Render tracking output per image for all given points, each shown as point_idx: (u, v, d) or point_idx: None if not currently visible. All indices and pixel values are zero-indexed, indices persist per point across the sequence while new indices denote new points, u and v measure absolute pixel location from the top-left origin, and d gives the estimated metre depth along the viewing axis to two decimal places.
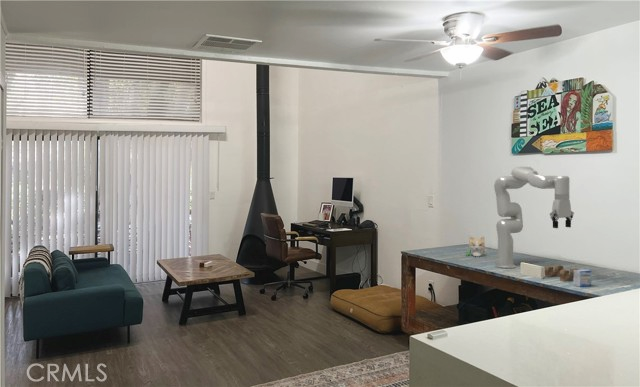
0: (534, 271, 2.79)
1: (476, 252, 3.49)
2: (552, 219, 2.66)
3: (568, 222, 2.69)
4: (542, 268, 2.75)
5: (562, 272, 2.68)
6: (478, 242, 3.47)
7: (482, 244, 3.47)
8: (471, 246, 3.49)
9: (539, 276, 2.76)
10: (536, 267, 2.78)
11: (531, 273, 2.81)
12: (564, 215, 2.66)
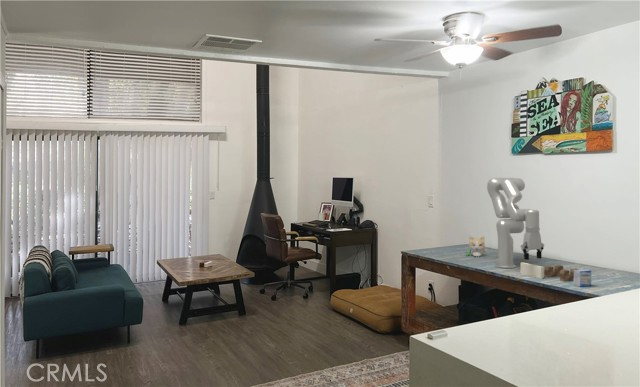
0: (534, 271, 2.79)
1: (476, 252, 3.49)
2: (523, 251, 2.79)
3: (539, 254, 2.82)
4: (542, 268, 2.75)
5: (562, 272, 2.68)
6: (478, 242, 3.47)
7: (482, 244, 3.47)
8: (471, 246, 3.49)
9: (539, 276, 2.76)
10: (536, 267, 2.78)
11: (531, 273, 2.81)
12: (534, 247, 2.79)
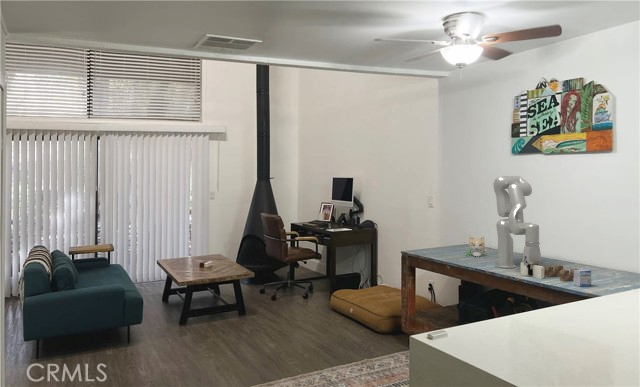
0: (534, 271, 2.79)
1: (476, 252, 3.49)
2: (527, 267, 2.81)
3: None
4: (542, 268, 2.75)
5: (562, 272, 2.68)
6: (478, 242, 3.47)
7: (482, 244, 3.47)
8: (471, 246, 3.49)
9: (539, 275, 2.76)
10: (536, 267, 2.78)
11: None
12: (534, 261, 2.80)
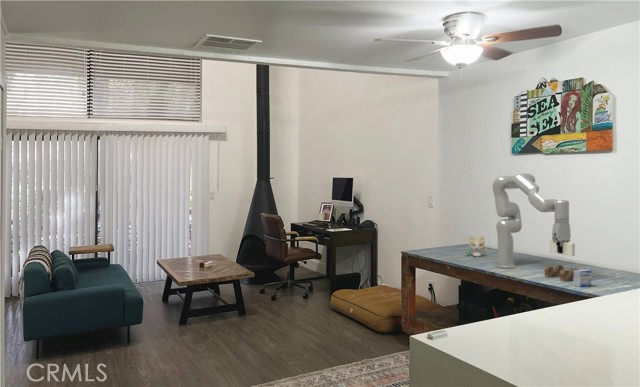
0: (565, 249, 2.71)
1: (476, 252, 3.49)
2: (557, 244, 2.74)
3: None
4: (573, 245, 2.67)
5: (562, 272, 2.68)
6: (478, 242, 3.47)
7: (482, 244, 3.47)
8: (471, 246, 3.49)
9: (569, 253, 2.68)
10: (566, 244, 2.70)
11: None
12: (564, 238, 2.72)
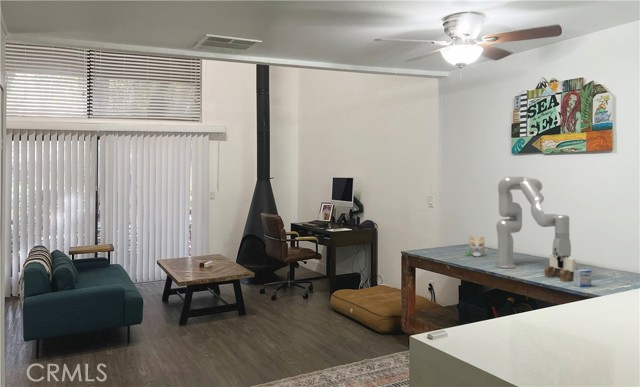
0: (565, 264, 2.72)
1: (476, 252, 3.49)
2: (557, 259, 2.74)
3: None
4: (573, 260, 2.67)
5: (562, 272, 2.68)
6: (478, 242, 3.47)
7: (482, 244, 3.47)
8: (471, 246, 3.49)
9: (570, 268, 2.69)
10: (567, 259, 2.70)
11: None
12: (564, 253, 2.73)
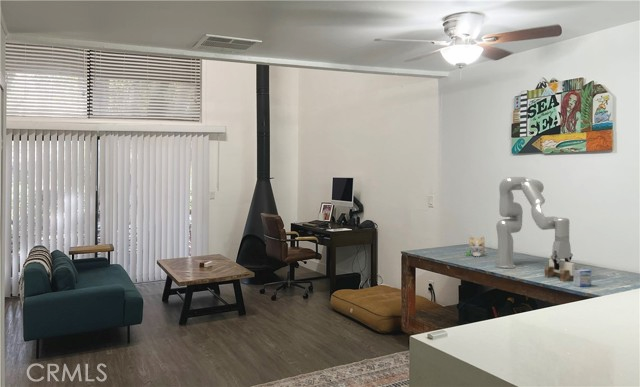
0: (565, 268, 2.72)
1: (476, 252, 3.49)
2: (553, 261, 2.73)
3: None
4: (573, 264, 2.68)
5: (562, 272, 2.68)
6: (478, 242, 3.47)
7: (482, 244, 3.47)
8: (471, 246, 3.49)
9: (569, 272, 2.69)
10: (566, 264, 2.71)
11: None
12: (564, 256, 2.73)
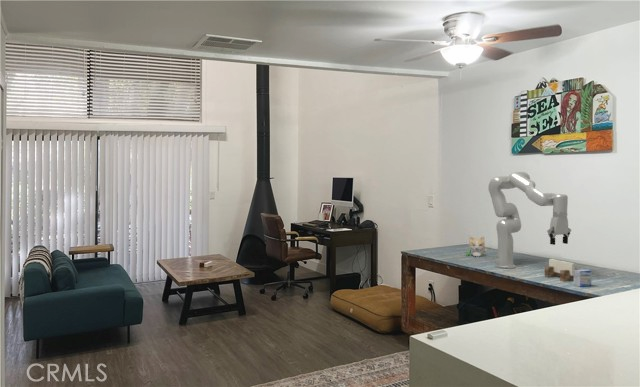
0: (565, 268, 2.72)
1: (476, 252, 3.49)
2: (549, 236, 2.76)
3: (565, 239, 2.79)
4: (573, 264, 2.68)
5: (562, 272, 2.68)
6: (478, 242, 3.47)
7: (482, 244, 3.47)
8: (471, 246, 3.49)
9: (569, 272, 2.69)
10: (566, 264, 2.71)
11: None
12: (561, 232, 2.76)
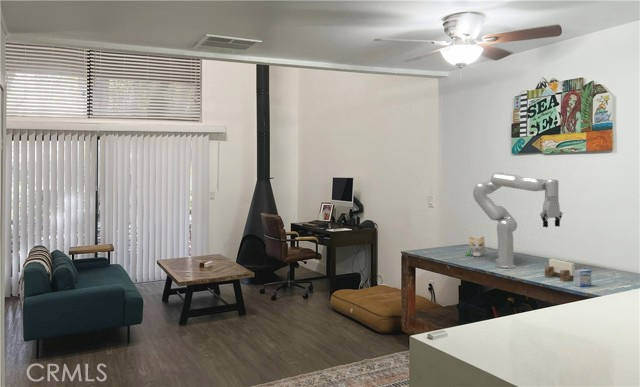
0: (565, 268, 2.72)
1: (476, 252, 3.49)
2: (542, 219, 2.90)
3: (557, 222, 2.94)
4: (573, 264, 2.68)
5: (562, 272, 2.68)
6: (478, 242, 3.47)
7: (482, 244, 3.47)
8: (471, 246, 3.49)
9: (569, 272, 2.69)
10: (566, 264, 2.71)
11: None
12: (553, 215, 2.90)
